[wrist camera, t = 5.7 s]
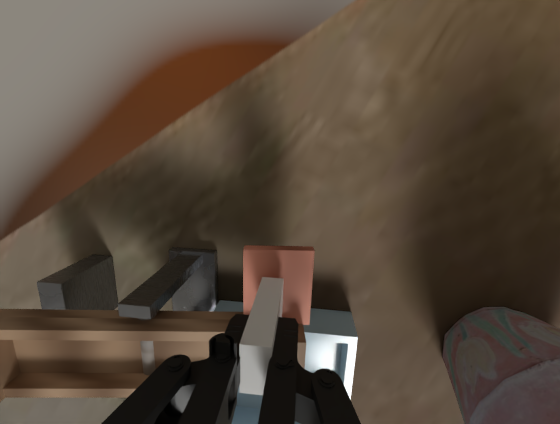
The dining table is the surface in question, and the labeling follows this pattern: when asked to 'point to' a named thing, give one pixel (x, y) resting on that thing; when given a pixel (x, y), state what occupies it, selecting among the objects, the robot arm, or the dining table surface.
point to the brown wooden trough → (134, 335)
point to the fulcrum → (177, 285)
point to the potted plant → (504, 367)
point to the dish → (309, 353)
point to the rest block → (81, 286)
